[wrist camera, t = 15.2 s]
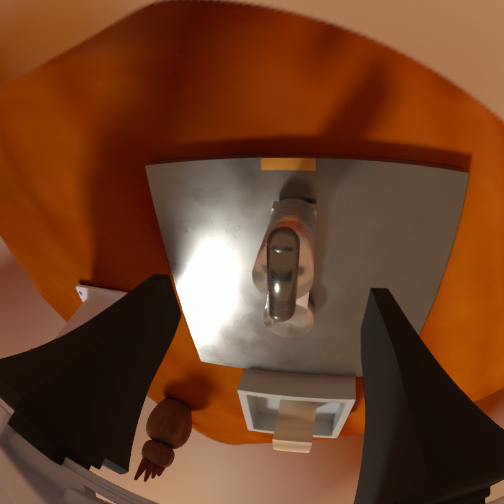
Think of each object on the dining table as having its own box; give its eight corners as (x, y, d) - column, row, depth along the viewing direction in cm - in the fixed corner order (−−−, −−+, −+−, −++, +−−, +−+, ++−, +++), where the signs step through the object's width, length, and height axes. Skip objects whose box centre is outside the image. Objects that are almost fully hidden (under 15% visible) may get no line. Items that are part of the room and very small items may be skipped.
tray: (338, 418, 32) (336, 437, 29) (252, 411, 34) (248, 429, 32) (355, 374, 26) (355, 399, 23) (244, 366, 28) (237, 389, 26)
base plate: (397, 368, 24) (398, 376, 23) (204, 354, 28) (201, 362, 28) (461, 167, 13) (469, 173, 12) (152, 161, 18) (144, 166, 17)
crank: (311, 329, 21) (303, 408, 16) (265, 325, 22) (246, 400, 16) (329, 175, 14) (336, 241, 9) (263, 172, 15) (228, 233, 10)
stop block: (314, 409, 30) (308, 452, 25) (282, 406, 31) (273, 449, 26) (317, 394, 28) (311, 442, 23) (281, 392, 29) (272, 439, 24)
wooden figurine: (153, 390, 38) (116, 471, 26) (184, 396, 36) (148, 485, 24) (172, 411, 41) (142, 484, 29) (202, 416, 40) (174, 496, 27)
